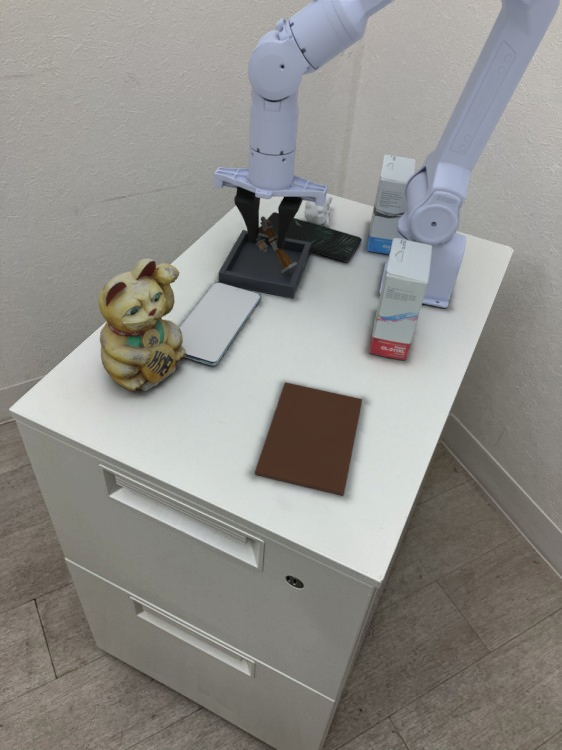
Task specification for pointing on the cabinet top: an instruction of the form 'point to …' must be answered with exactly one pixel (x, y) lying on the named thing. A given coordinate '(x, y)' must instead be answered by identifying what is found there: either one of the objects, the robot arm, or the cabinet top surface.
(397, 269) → the ink box
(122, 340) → the decorative figurine
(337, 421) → the desk pad
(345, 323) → the cabinet top surface
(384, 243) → the ink box
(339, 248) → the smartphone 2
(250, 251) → the tray
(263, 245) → the brown grey jointed column
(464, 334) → the cabinet top surface
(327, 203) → the toy
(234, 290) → the smartphone
